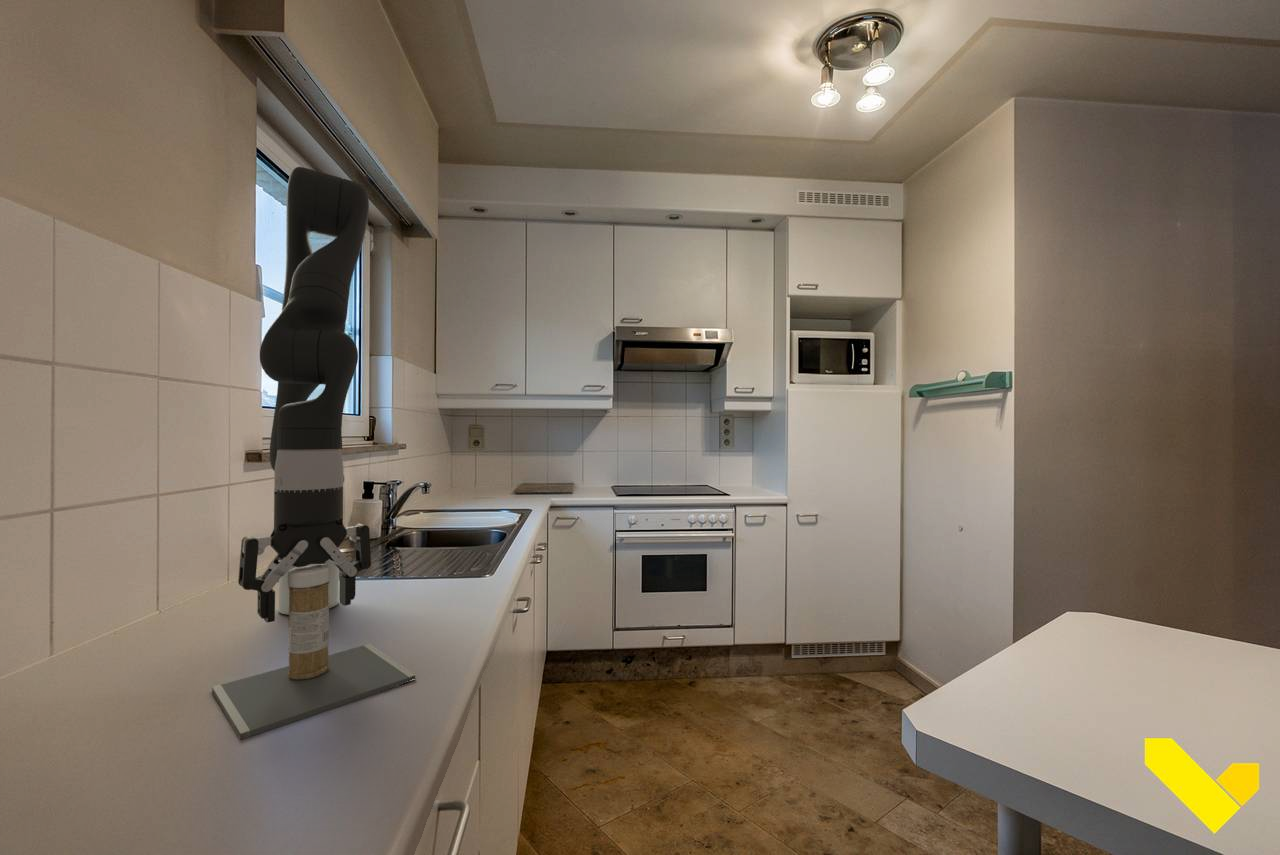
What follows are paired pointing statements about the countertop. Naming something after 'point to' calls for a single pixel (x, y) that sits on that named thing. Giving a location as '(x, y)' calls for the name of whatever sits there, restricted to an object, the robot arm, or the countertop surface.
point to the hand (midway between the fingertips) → (308, 612)
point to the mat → (306, 690)
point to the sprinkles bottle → (308, 621)
